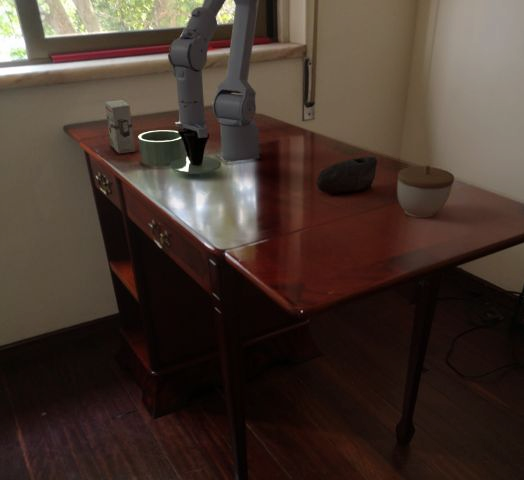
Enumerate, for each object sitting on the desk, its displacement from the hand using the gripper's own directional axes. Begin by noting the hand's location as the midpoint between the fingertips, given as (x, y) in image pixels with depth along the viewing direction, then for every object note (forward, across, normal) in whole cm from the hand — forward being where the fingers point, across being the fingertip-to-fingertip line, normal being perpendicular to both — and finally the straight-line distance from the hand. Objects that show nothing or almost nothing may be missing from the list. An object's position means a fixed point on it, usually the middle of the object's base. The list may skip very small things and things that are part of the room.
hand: (195, 162), depth 127 cm
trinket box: (+3, +42, +34) cm, 54 cm away
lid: (+1, 0, 0) cm, 1 cm away
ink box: (+3, -30, -11) cm, 32 cm away
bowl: (+3, -14, -4) cm, 15 cm away
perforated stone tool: (+3, +25, +27) cm, 37 cm away
